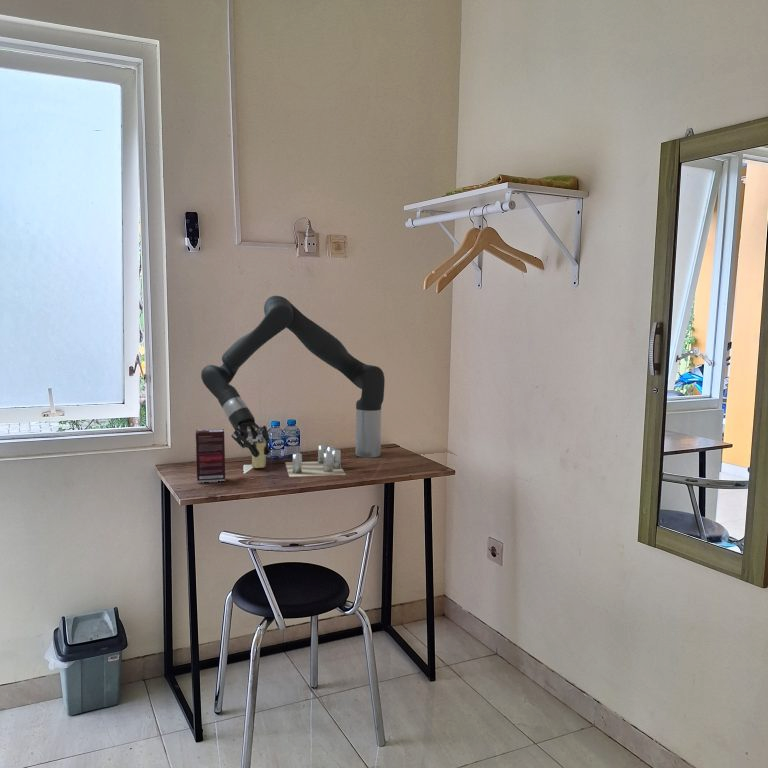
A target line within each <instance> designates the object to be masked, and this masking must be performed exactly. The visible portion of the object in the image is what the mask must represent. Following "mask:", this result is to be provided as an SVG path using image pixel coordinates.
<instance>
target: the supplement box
mask: <svg viewBox="0 0 768 768" xmlns="http://www.w3.org/2000/svg"><path fill="white" fill-rule="evenodd" d="M225 443H226V442H225V430H224V428H215V429H214V428H213V429H196V430H195V454H196V455H195V456H196V480H197V481H196V482H197V484H204V482H209V483H222V482H221V481H225V482H226V451H225V448H226V447H225V446H226V444H225ZM218 481H220V482H218ZM201 482H202V483H201Z"/></svg>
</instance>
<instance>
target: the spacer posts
mask: <svg viewBox="0 0 768 768" xmlns="http://www.w3.org/2000/svg"><path fill="white" fill-rule="evenodd" d="M341 451H342V450H341V449H337V447H336V446H335V445H327V444H323V443H322V444H318V445H317V462H318V463H321V464H323V472H332V471H333V469H340V468H341V467H342V466H341V461H342V459H341V457H342V456H341V455H342V454H341V453H342V452H341ZM292 462H293V473H294V474H300V473H302V462H303V453H299V452H298V453H297V452H296V453H292Z"/></svg>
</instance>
